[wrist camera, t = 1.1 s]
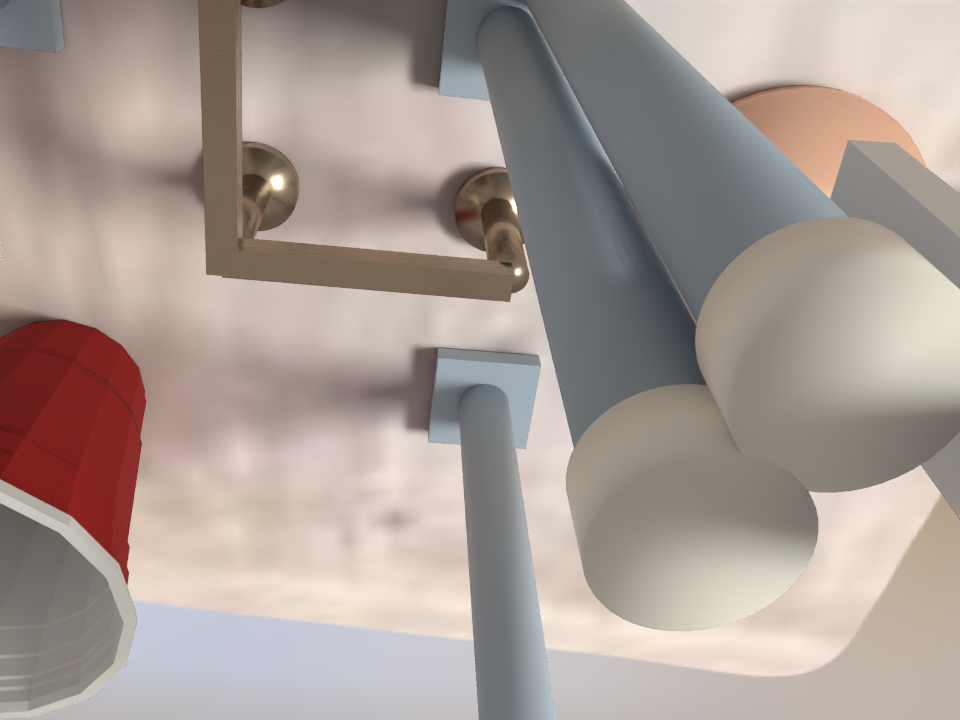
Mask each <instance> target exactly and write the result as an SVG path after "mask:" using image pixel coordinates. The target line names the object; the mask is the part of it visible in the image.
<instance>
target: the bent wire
mask: <svg viewBox="0 0 960 720" xmlns="http://www.w3.org/2000/svg"><path fill="white" fill-rule="evenodd" d="M281 1H283V0H198V7H199V41H200V74H201V108H202V141H203V175H204V209H205V242H206V274H207V275H218V276H222V277H224V278H235V279H247V280H259V281H270V282H282V283H294V284H306V285H317V286H329V287H341V288H352V289H364V290H376V291H388V292H399V293H411V294H423V295H434V296H446V297H458V298H470V299H481V300H493V301H505V302H510V298H511V293H515V292H518V291H520V290H521V289H523V288H524V287H525V285H526V284H527V282H528V279H529V271H528V267H527V262H526V258H525V254H524V250H523V245H522V244H524V243H525V242H524V238H523V234H522V230H521V226H520V222H519V217H518V213H517V209H516V205H515V201H514V197H513V193H512V188H511V184H510V180H509V176H508V172H507V168H498V167H496V168H488V169H484V170H482V171H479V172H477V173H475V174H474V175H472V176H471V177H470V178H468V179H467V180H466V181H465V183H464V184H463V185H462V186H461V188H460V190H459V192H458V194H457V197H456V201H455V217H456V223H457V227H458V229H459V231H460V233H461V235H462V236H463V238H464V239H465V240H466V241H467V242H468V243H469V244H471V245H472V246H474V247H475V248H477V249H480V250H482V251H486V254H487V260H481V259H470V258H459V257H448V256H437V255H426V254H415V253H404V252H393V251H382V250H371V249H360V248H349V247H337V246H326V245H315V244H304V243H293V242H282V241H271V240H260V239H254V238H255V235H256V233H257V231H264V230H269V229H272V228H275V227H277V226H279V225H280V224H282V223H283V222H285V221H286V220H287V219H288V218H289V216H290V215H291V214H292V212H293V210H294V208H295V205H296V202H297V199H298V195H299V181H298V176H297V173H296V171H295V169H294V167H293V165H292V164H291V162H290V161H289V160H288V159H287V158H286V157H285V156H284V155H283V154H282V153H281V152H279V151H278V150H276V149H275V148H273V147H270V146H268V145H265V144H262V143H255V142H247V143H242V50H241V5H244V6H247V7H252V8H264V7H270V6H273V5H276V4H278V3H280V2H281Z"/></svg>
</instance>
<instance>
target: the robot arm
mask: <svg viewBox="0 0 960 720" xmlns="http://www.w3.org/2000/svg"><path fill="white" fill-rule="evenodd" d="M830 199H831V200H832V201H833V202H834V203H835V204H836V205H837V206H838V207H839V208H840V209H841V210H842V211H843V212H844V213H845V214H846V215H847V216H848V217H852V218H858V219H864V220H868V221H871V222H874V223H877V224H880V225H882V226H884V227H886V228H888V229H890V230H892V231H893V232H895V233H896V234H897V235H899V236H900V237H902V238H903V239H904V240H905V241H906V242H907V243H909V244H910V245H911V246H912V247H913V248H914V249H915V250H916V251H917V252H919V253H920V254H921V255H922V256H923V257H924V258H925V259H926V260H927V261H929V262H930V263H931V264H932V265H933V266H934V267H935V268H936V269H937V270H939V271H940V272H941V273H942V274H943V275H944V276H945V277H946V278H947V279H949V280H950V281H951V282H952V283H953V284H954V285H955V286H956V287H957V288H959V289H960V194H959V193H958V192H957V191H955V190H954V189H953V188H952V187H950V186H949V185H948V184H947V183H945V182H944V181H943V180H942V179H940V178H939V177H938V176H937V175H935V174H934V173H933V172H931V171H930V170H929V169H928V168H926V167H925V166H924V165H923V164H921V163H920V162H919V161H918V160H916V159H915V158H914V157H912V156H911V155H910V154H909V153H907V152H906V151H905V150H904V149H902V148H901V147H900V146H899V145H897V144H896V143H888V142H873V141H858V140H848V141H847V145H846V148H845V151H844V155H843V158H842V161H841V165H840V168H839V171H838V174H837V178H836V181H835V184H834V188H833V191H832V194H831V198H830ZM3 257H4V253H3V249H2V244H1V239H0V260H1V259H2V258H3ZM921 466H922V467H923V469H924V470H925V471H926V473H927V474H928V476H929V477H930V478H931V480H932V481H933V483H934V484H935V485H936V487H937V488H938V490H939V491H940V493H941V494H942V495H943V497H944V498H945V499H946V501H947V502H948V504H949V505H950V507H951V508H952V509H953V511H954V512H955V514H956V515H957V516H958V518H959V519H960V432H959V433H958V434H957V435H956V436H955V437H954V438H953V439H952V440H951V441H950V442H949V443H948V444H947V445H946V446H945V447H944V448H943V449H941V450H940V451H939V452H938V453H936V454H935V455H934V456H932V457H931V458H930V459H928V460H927V461H925V462H924V463H922V464H921Z"/></svg>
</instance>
